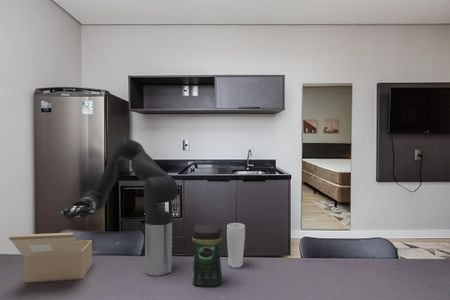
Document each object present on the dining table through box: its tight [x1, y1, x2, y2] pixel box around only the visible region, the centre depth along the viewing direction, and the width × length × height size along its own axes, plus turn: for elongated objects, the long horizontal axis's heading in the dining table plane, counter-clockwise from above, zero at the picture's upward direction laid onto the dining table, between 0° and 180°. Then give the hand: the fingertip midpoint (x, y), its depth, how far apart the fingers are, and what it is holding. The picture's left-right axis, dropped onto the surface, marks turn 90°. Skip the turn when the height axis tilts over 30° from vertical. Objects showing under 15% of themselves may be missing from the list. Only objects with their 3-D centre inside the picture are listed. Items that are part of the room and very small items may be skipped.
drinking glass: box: [226, 222, 246, 269], centre depth 106 cm, size 7×7×15 cm
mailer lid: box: [8, 232, 82, 258], centre depth 87 cm, size 17×12×1 cm
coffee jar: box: [191, 224, 223, 287], centre depth 93 cm, size 10×8×19 cm
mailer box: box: [23, 239, 93, 284], centre depth 98 cm, size 17×12×9 cm
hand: (69, 216), depth 105 cm, fingers closed
